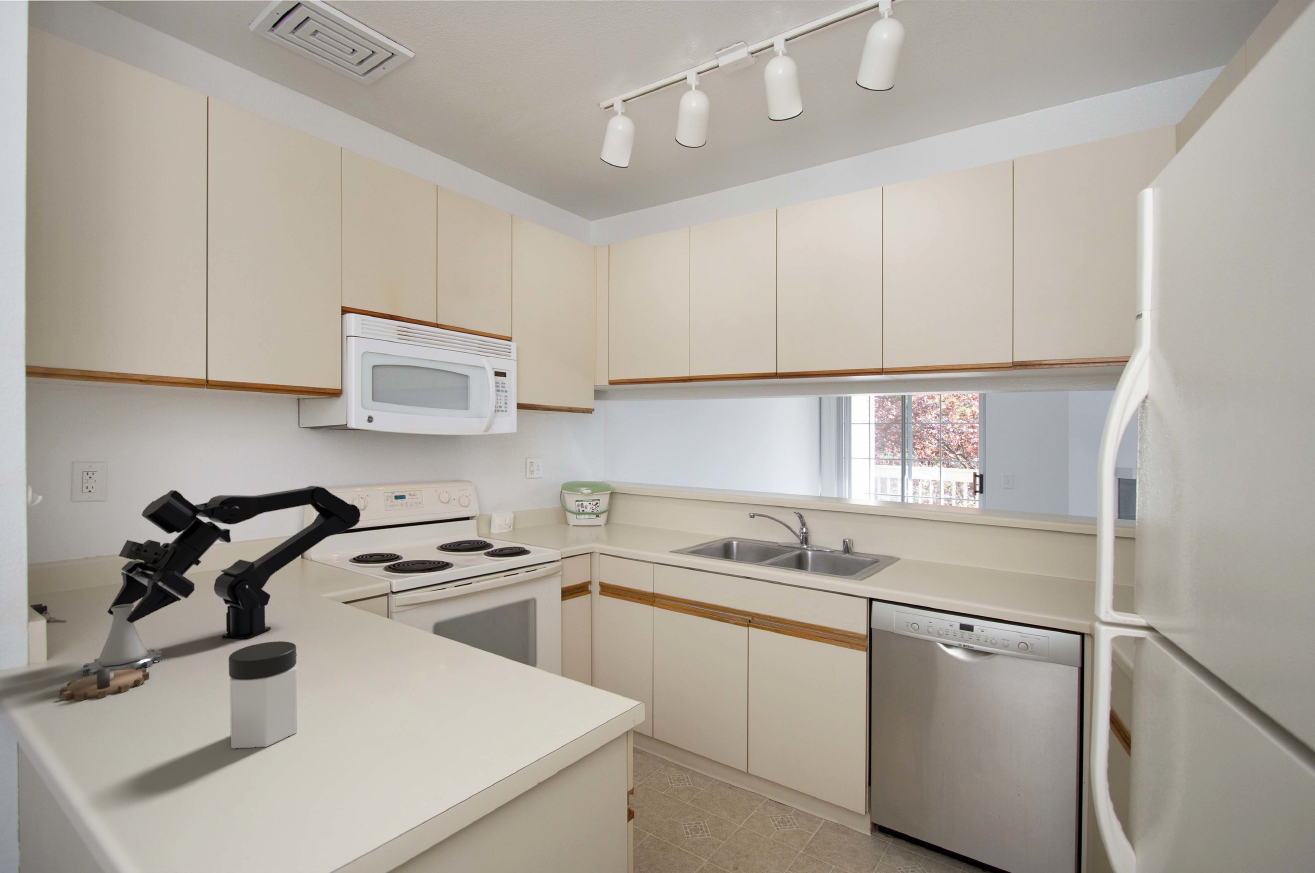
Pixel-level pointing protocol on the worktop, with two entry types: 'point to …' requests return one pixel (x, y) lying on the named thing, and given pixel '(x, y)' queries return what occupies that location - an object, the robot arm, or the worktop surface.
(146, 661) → the gear
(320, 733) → the worktop surface
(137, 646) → the flask
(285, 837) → the worktop surface
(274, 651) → the jar
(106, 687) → the drive gear
